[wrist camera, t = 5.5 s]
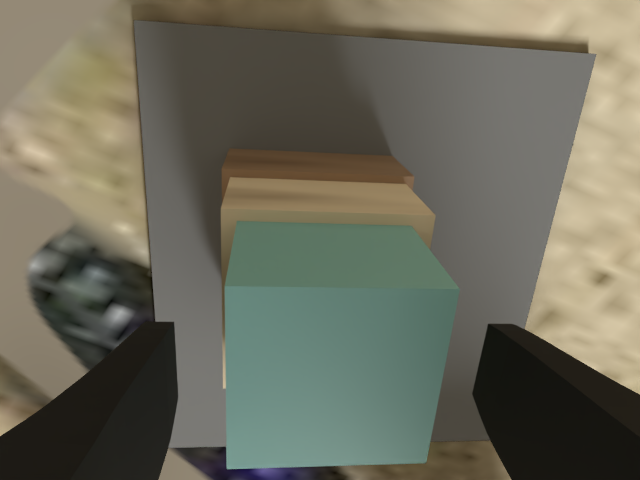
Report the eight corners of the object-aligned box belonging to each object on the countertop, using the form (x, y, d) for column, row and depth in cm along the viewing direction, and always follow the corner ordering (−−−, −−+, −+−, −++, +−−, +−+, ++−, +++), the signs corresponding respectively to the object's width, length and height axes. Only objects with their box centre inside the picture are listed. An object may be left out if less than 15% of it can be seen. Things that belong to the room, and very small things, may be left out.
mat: (491, 434, 24) (495, 440, 24) (166, 441, 23) (164, 447, 22) (589, 53, 18) (596, 53, 17) (137, 20, 16) (133, 19, 15)
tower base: (375, 297, 20) (391, 337, 17) (230, 295, 20) (223, 337, 17) (392, 155, 18) (414, 176, 15) (229, 148, 17) (221, 168, 15)
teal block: (390, 368, 14) (426, 462, 11) (237, 368, 14) (227, 468, 11) (411, 225, 13) (460, 288, 9) (236, 220, 12) (224, 286, 9)
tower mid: (385, 331, 17) (407, 386, 15) (230, 331, 17) (223, 388, 14) (405, 183, 15) (435, 215, 13) (230, 177, 15) (220, 208, 12)
